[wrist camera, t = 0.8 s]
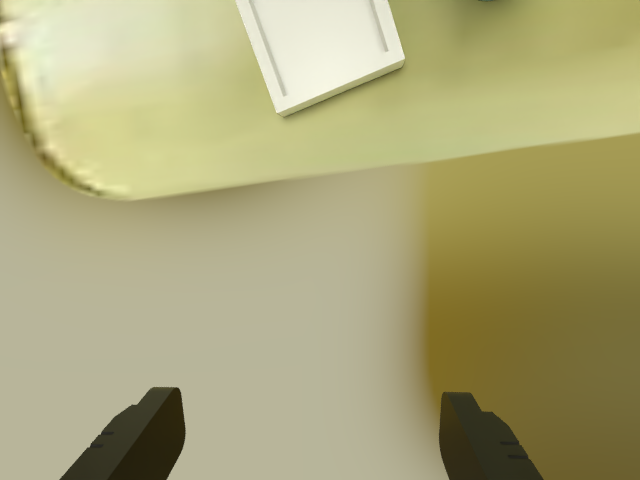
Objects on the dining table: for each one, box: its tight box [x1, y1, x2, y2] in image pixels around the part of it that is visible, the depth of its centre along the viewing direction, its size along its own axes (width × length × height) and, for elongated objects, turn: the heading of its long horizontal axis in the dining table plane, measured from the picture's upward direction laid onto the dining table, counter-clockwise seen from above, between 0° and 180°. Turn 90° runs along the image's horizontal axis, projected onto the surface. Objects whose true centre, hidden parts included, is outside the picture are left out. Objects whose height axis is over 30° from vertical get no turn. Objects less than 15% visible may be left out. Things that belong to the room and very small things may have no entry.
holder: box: [235, 0, 405, 117], centre depth 28 cm, size 11×11×2 cm
